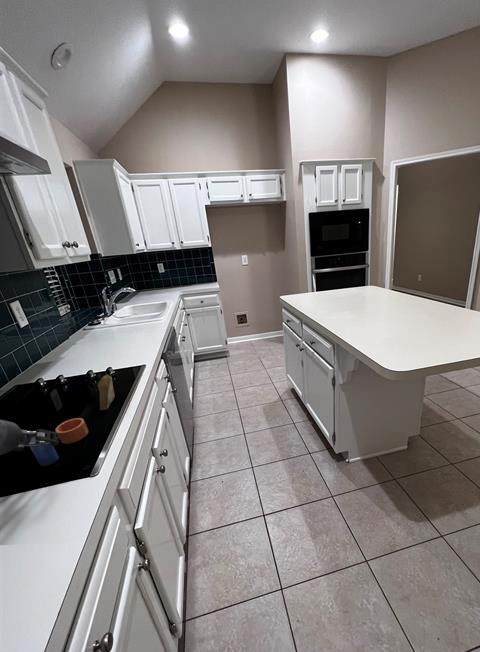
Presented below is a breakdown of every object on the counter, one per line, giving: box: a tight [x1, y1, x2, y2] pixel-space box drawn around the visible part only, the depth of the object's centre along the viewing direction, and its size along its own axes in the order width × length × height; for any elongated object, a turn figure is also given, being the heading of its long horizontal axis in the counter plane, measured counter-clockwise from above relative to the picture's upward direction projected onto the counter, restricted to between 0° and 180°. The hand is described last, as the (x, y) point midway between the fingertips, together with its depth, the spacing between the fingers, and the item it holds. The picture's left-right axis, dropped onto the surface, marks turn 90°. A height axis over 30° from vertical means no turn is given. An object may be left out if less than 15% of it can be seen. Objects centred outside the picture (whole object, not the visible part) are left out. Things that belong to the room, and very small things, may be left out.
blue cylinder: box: [28, 438, 60, 467], centre depth 85 cm, size 4×4×8 cm
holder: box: [54, 417, 89, 445], centre depth 95 cm, size 7×7×4 cm
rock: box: [97, 374, 116, 411], centre depth 111 cm, size 11×9×10 cm
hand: (39, 444), depth 83 cm, fingers open, 8 cm apart
